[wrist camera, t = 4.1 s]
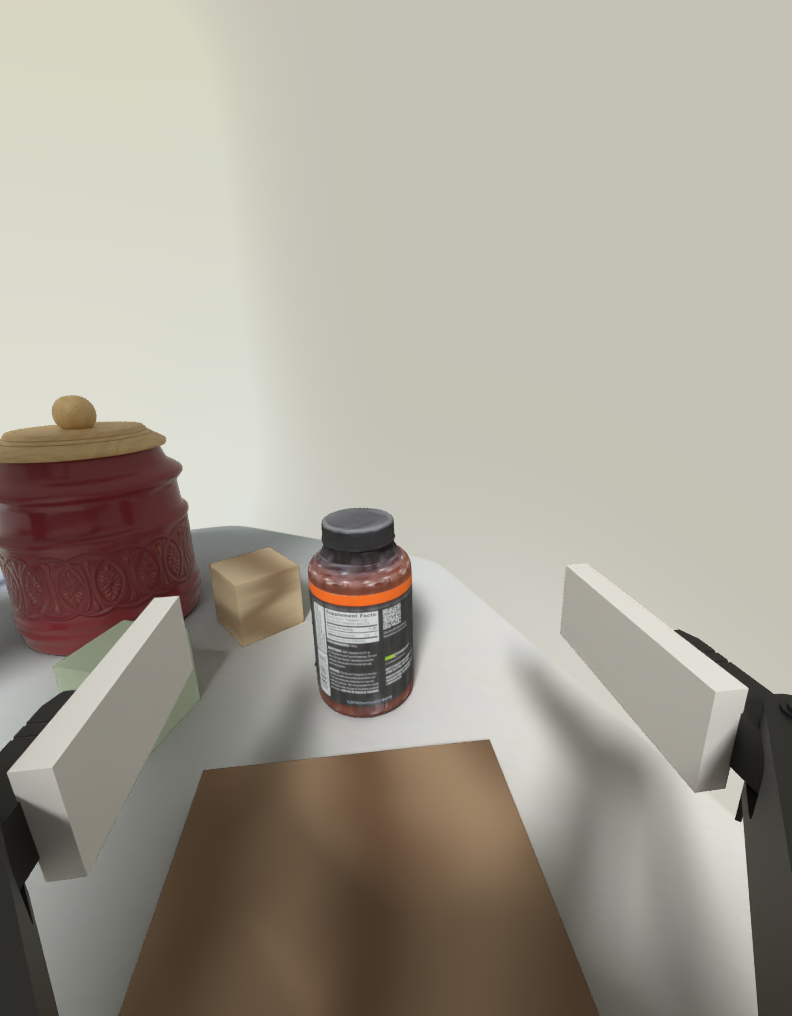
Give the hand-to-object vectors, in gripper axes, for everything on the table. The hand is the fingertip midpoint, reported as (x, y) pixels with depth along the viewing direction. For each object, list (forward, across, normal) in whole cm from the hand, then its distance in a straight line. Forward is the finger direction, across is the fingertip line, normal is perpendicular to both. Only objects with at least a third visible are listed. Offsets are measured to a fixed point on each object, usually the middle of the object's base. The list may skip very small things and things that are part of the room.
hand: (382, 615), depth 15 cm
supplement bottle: (+10, -1, -11) cm, 15 cm away
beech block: (+19, -9, -11) cm, 24 cm away
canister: (+22, -21, -11) cm, 32 cm away
